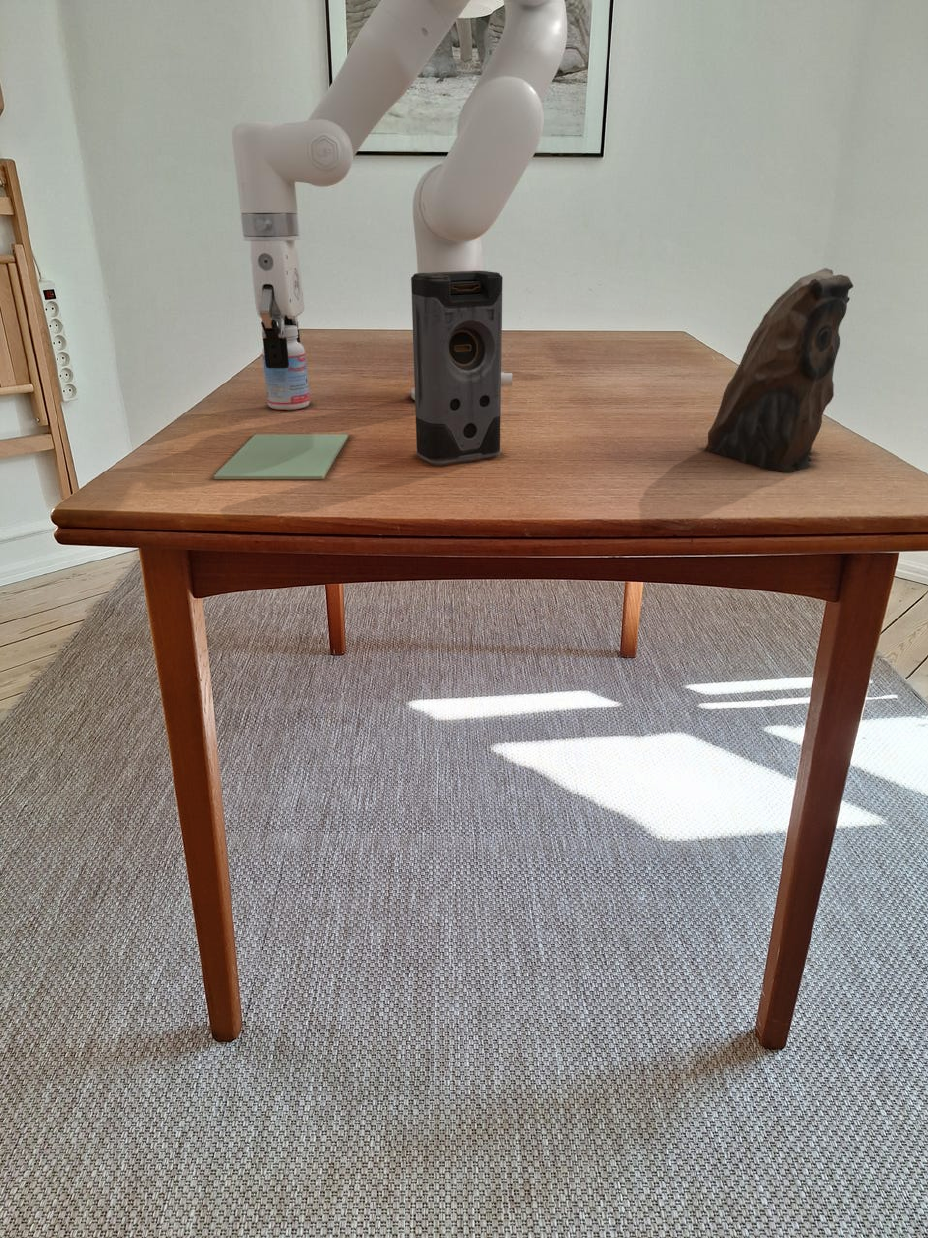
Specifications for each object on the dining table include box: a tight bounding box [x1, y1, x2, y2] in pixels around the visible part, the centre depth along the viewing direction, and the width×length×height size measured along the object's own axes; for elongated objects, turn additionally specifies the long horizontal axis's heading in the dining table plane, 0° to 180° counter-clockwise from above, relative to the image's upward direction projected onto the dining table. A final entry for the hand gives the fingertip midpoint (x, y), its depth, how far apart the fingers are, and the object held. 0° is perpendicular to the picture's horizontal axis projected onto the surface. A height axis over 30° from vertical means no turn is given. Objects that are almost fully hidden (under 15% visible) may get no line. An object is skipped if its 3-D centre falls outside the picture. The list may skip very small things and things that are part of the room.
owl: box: [704, 267, 854, 473], centre depth 90 cm, size 13×13×20 cm
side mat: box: [213, 433, 349, 480], centre depth 96 cm, size 12×18×1 cm, turn 179°
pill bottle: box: [261, 324, 310, 411], centre depth 118 cm, size 6×6×11 cm
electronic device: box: [410, 270, 503, 467], centre depth 91 cm, size 9×6×20 cm, turn 117°
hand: (284, 361), depth 118 cm, fingers open, 7 cm apart
